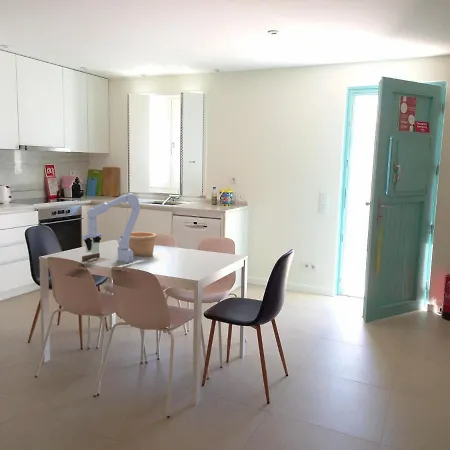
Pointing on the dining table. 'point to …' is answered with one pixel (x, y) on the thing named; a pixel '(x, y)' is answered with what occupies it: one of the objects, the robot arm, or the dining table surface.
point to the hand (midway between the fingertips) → (92, 249)
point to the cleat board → (93, 258)
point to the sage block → (93, 247)
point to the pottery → (142, 243)
